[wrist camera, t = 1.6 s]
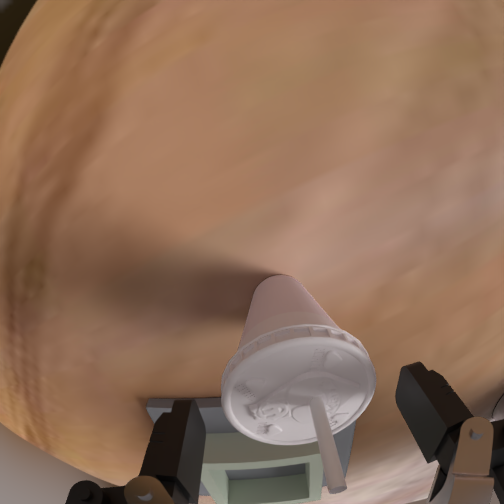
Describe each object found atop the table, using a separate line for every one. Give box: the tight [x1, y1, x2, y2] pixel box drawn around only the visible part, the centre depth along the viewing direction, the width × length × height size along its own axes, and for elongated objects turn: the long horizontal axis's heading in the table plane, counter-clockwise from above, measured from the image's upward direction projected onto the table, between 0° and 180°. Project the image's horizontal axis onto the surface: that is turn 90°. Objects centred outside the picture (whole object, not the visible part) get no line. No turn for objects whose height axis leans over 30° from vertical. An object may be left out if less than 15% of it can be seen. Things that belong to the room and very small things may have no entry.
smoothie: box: [221, 275, 376, 494], centre depth 13 cm, size 6×6×14 cm
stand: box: [146, 397, 356, 504], centre depth 22 cm, size 18×18×5 cm
